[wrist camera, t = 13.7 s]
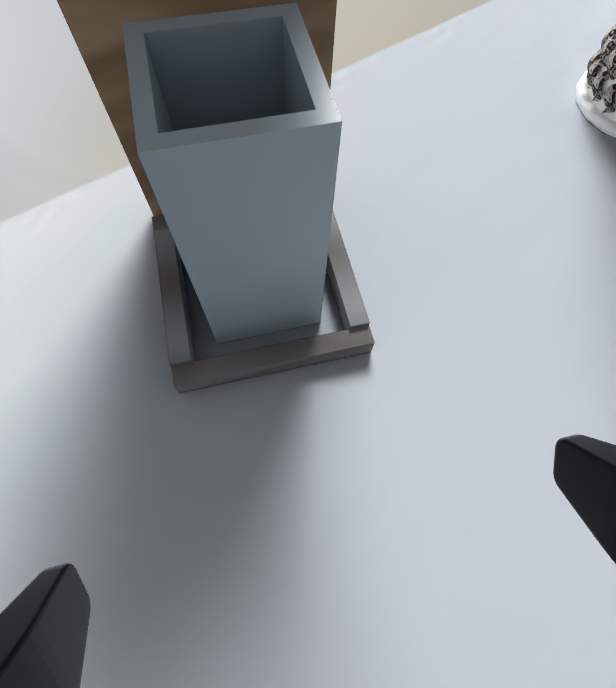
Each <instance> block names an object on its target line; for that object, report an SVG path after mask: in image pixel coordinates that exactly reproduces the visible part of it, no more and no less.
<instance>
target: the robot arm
mask: <svg viewBox="0 0 616 688" xmlns="http://www.w3.org/2000/svg"><path fill="white" fill-rule="evenodd" d="M553 474H554V479H555V482H556V484H557V486H558V487H559V489H560V490H561V491H562V493H563V494H564V495H565V497H566V498H567V500H568V501H569V502H570V504H571V505H572V506H573V508H574V509H575V510H576V512H577V513H578V515H579V516H580V517H581V519H582V520H583V521H584V523H585V524H586V526H587V527H588V528H589V530H590V531H591V532H592V534H593V535H594V536H595V538H596V539H597V541H598V542H599V543H600V545H601V546H602V547H603V549H604V550H605V551H606V552H607V554H608V555H609V556H610V558H611V559H612V560H613V561H614V562H615V564H616V445H613V444H610V443H607V442H603V441H600V440H597V439H594V438H590V437H587V436H584V435H572V436H568V437H564V438H561V439H559V440H558V441H557V443H556V446H555V457H554V470H553ZM89 617H90V599H89V595H88V593H87V591H86V589H85V587H84V585H83V583H82V581H81V578H80V576H79V574H78V572H77V570H76V568H75V567H74V566H73V565H72V564H68V563H67V564H62V565H58V566H54V567H50V568H47V569H45V570H43V571H42V572H41V573H40V574H39V575H38V576H37V577H36V578H35V579H34V580H33V581H32V582H31V583H30V584H29V585H28V586H27V587H26V588H25V589H24V590H23V591H22V592H21V593H20V594H19V595H18V596H17V597H16V598H15V599H14V600H13V601H12V602H11V603H10V604H9V605H8V606H7V607H6V608H5V610H4V611H3V612H2V613H1V614H0V688H80V683H81V675H82V668H83V661H84V653H85V646H86V639H87V631H88V624H89Z"/></svg>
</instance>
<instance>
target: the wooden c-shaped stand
mask: <svg viewBox="0 0 616 688" xmlns="http://www.w3.org/2000/svg"><path fill="white" fill-rule="evenodd" d="M57 2H58V4H59V6H60V8H61V11H62V13H63V15H64V17H65V19H66V22H67V24H68V26H69V28H70V31H71V33H72V35H73V37H74V39H75V42H76V44H77V46H78V48H79V51H80V53H81V55H82V57H83V59H84V62H85V64H86V66H87V68H88V71H89V73H90V75H91V77H92V80H93V81H94V84H95V86H96V88H97V91H98V93H99V95H100V97H101V100H102V102H103V104H104V106H105V108H106V110H107V113H108V115H109V117H110V119H111V122H112V124H113V126H114V128H115V130H116V133H117V135H118V137H119V140H120V142H121V144H122V146H123V148H124V150H125V153H126V155H127V157H128V160H129V162H130V164H131V166H132V168H133V171H134V173H135V175H136V177H137V180H138V182H139V184H140V186H141V188H142V191H143V193H144V195H145V197H146V200H147V202H148V204H149V206H150V208H151V211H152V213H153V215H154V217H152V221H153V229H154V238H155V246H156V254H157V263H158V271H159V279H160V288H161V296H162V304H163V313H164V321H165V330H166V338H167V346H168V355H169V363H170V365H171V368H172V376H173V384H174V386H175V388H176V389H177V390H178V391H179V392H180V393H182V392H186V391H191V390H196V389H200V388H205V387H210V386H214V385H219V384H224V383H228V382H233V381H237V380H242V379H247V378H251V377H256V376H261V375H265V374H270V373H275V372H279V371H284V370H289V369H293V368H298V367H303V366H307V365H312V364H317V363H321V362H326V361H331V360H335V359H340V358H344V357H349V356H354V355H358V354H363V353H368V352H371V350H372V348H373V345H374V339H373V336H372V333H371V330H370V327H369V323H370V322H369V319H368V316H367V313H366V310H365V307H364V304H363V300H362V297H361V294H360V291H359V288H358V285H357V282H356V279H355V276H354V273H353V270H352V267H351V264H350V261H349V258H348V255H347V252H346V249H345V246H344V243H343V240H342V236H341V233H340V230H339V227H338V224H337V221H336V218H335V215H334V212H333V209H332V219H331V228H330V237H329V246H328V256H327V265H326V269H327V272H328V276H329V279H330V282H331V286H332V289H333V292H334V296H335V299H336V302H337V306H338V309H339V312H340V316H341V319H342V322H343V326H344V329H345V330H343V331H338V332H333V333H329V334H324V335H319V336H314V337H309V338H304V339H300V340H295V341H290V342H285V343H280V344H276V345H271V346H266V347H261V348H256V349H251V350H247V351H242V352H237V353H232V354H227V355H223V356H218V357H213V358H208V359H203V360H199V361H196V359H195V352H194V345H193V338H192V331H191V324H190V318H189V311H188V304H187V297H186V290H185V283H184V276H183V270H182V263H181V256H180V253H179V251H178V249H177V246H176V244H175V241H174V239H173V237H172V234H171V232H170V229H169V227H168V225H167V222H166V220H165V218H164V215H163V213H162V210H161V208H160V206H159V203H158V201H157V198H156V196H155V194H154V191H153V189H152V186H151V184H150V182H149V179H148V177H147V175H146V172H145V170H144V167H143V165H142V163H141V160H140V158H139V155H138V153H137V145H136V137H135V128H134V120H133V111H132V103H131V94H130V86H129V77H128V69H127V60H126V52H125V44H124V35H123V27H122V24H123V23H132V22H140V21H148V20H156V19H165V18H173V17H181V16H190V15H198V14H206V13H214V12H223V11H231V10H239V9H248V8H256V7H264V6H272V5H281V4H289V3H297V5H298V8H299V11H300V13H301V16H302V18H303V21H304V24H305V26H306V29H307V31H308V34H309V37H310V39H311V42H312V44H313V47H314V50H315V52H316V55H317V57H318V60H319V63H320V65H321V68H322V70H323V73H324V76H325V78H326V81H327V83H328V86H329V89H330V86H331V73H332V58H333V45H334V32H335V31H334V30H335V18H336V5H337V0H57Z"/></svg>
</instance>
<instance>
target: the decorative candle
mask: <svg viewBox="0 0 616 688" xmlns="http://www.w3.org/2000/svg"><path fill="white" fill-rule="evenodd" d="M575 89H576V103H577V105H578V106H579V108H580V110H581V111H582V113H583V115H584V116H585V118H586V119H587V120H589V121H590V122H591V123H592V124H593V125H595V126H596V127H597V128H598V129H600V130H601V131H602V132H603V133H605V134H608V135H610V136H612V137H614V138H616V24H615V25H614V26H613V27H612V29H610V30H609V31H608V32H607V33H606V34H605V36H604V38H603V40H602V43H601V48H600V49H599V51H598V52H597V53H596V54H594V55H593V56H592V58H591V59H590V61H589V63H588V67H587V70H586V72H585V73H584V75H583V76H582V77H581V79H580V80H579V82H578V83H577V85H576V87H575Z"/></svg>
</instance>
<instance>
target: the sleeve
mask: <svg viewBox="0 0 616 688" xmlns="http://www.w3.org/2000/svg"><path fill="white" fill-rule="evenodd" d="M122 27H123V35H124V44H125V52H126V60H127V69H128V77H129V86H130V94H131V103H132V111H133V120H134V128H135V137H136V145H137V153H138V155H139V158H140V160H141V163H142V165H143V167H144V170H145V172H146V175H147V177H148V179H149V182H150V184H151V186H152V189H153V191H154V194H155V196H156V198H157V201H158V203H159V206H160V208H161V210H162V213H163V215H164V218H165V220H166V222H167V225H168V227H169V229H170V232H171V234H172V237H173V239H174V241H175V244H176V246H177V249H178V251H179V253H180V256H181V258H182V261H183V263H184V265H185V268H186V270H187V272H188V275H189V277H190V280H191V282H192V284H193V287H194V289H195V292H196V294H197V296H198V299H199V301H200V304H201V306H202V308H203V311H204V313H205V315H206V318H207V320H208V323H209V325H210V327H211V330H212V332H213V335H214V337H215V339H216V342H217V344H219V343H223V342H228V341H233V340H238V339H243V338H247V337H252V336H257V335H262V334H267V333H271V332H276V331H281V330H286V329H290V328H295V327H300V326H305V325H310V324H314V323H319V322H320V320H321V311H322V302H323V293H324V283H325V274H326V265H327V256H328V246H329V237H330V228H331V219H332V209H333V200H334V191H335V182H336V172H337V163H338V154H339V145H340V135H341V126H342V120H341V117H340V115H339V112H338V109H337V107H336V104H335V102H334V99H333V96H332V94H331V91H330V89H329V86H328V83H327V81H326V78H325V76H324V73H323V70H322V68H321V65H320V63H319V60H318V57H317V55H316V52H315V50H314V47H313V44H312V42H311V39H310V37H309V34H308V31H307V29H306V26H305V24H304V21H303V18H302V16H301V13H300V11H299V8H298V5H297V3H289V4H281V5H272V6H264V7H256V8H248V9H239V10H231V11H223V12H214V13H206V14H198V15H190V16H181V17H173V18H165V19H156V20H148V21H140V22H132V23H123V24H122Z"/></svg>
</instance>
